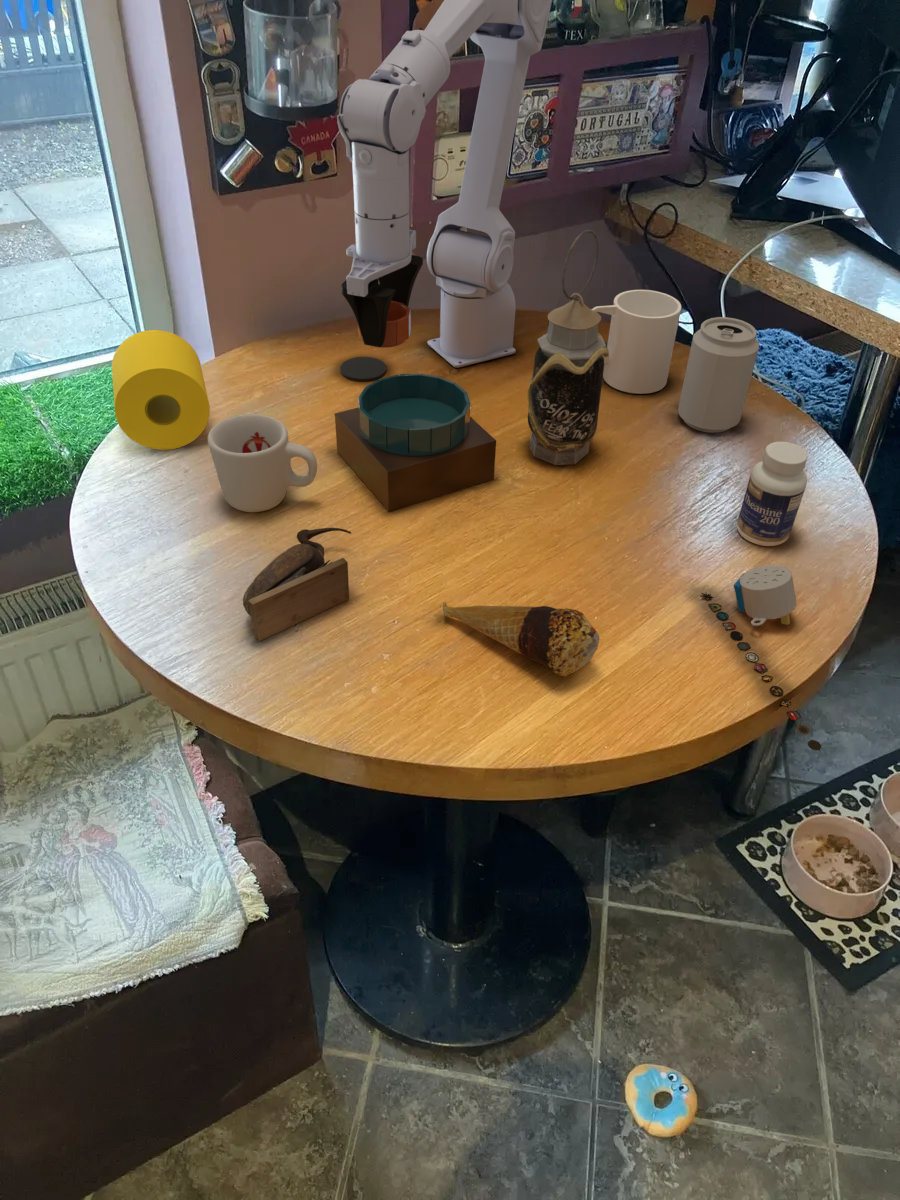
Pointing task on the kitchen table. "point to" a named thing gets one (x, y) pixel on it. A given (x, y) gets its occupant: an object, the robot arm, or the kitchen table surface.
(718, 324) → the can
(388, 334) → the small bowl
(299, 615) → the figurine
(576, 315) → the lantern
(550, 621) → the ice cream cone
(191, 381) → the tape roll
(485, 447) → the stand
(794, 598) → the electric motor
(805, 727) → the bead strand
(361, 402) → the big bowl
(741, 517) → the pill bottle
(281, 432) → the cup
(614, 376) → the cup
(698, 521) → the kitchen table surface
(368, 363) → the coaster
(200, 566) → the kitchen table surface
